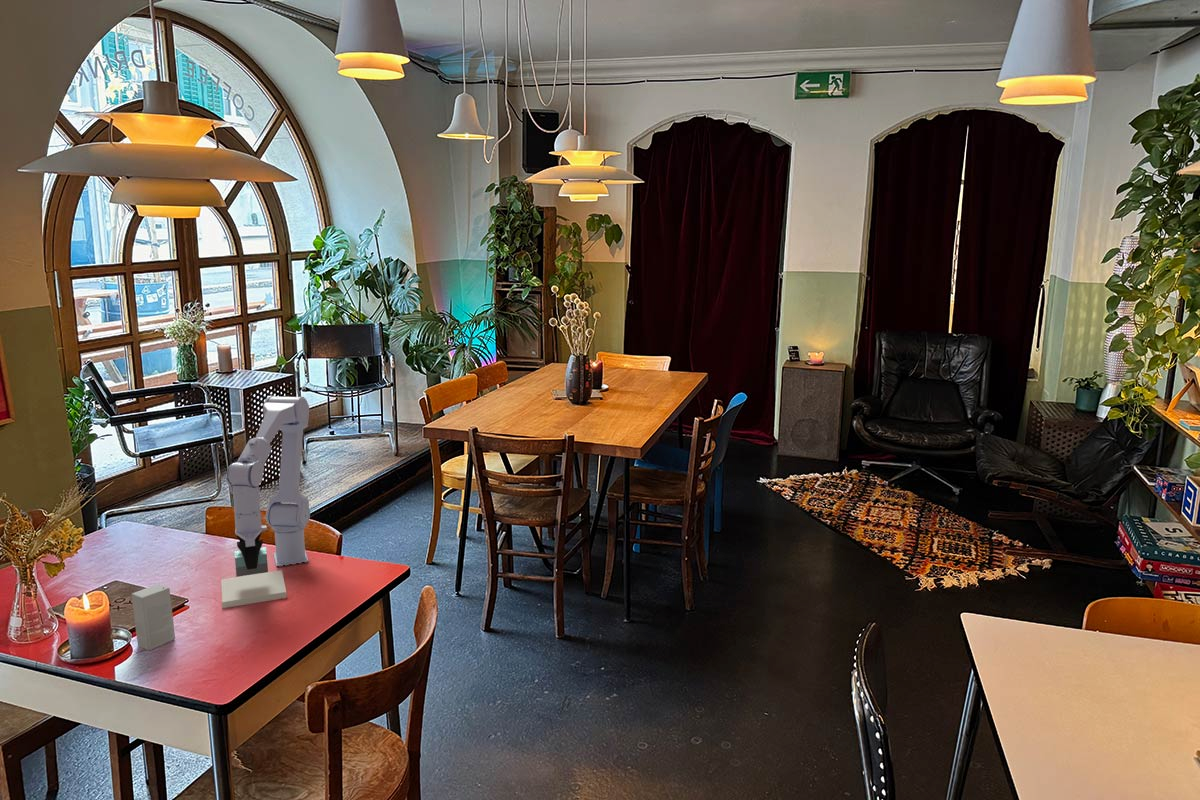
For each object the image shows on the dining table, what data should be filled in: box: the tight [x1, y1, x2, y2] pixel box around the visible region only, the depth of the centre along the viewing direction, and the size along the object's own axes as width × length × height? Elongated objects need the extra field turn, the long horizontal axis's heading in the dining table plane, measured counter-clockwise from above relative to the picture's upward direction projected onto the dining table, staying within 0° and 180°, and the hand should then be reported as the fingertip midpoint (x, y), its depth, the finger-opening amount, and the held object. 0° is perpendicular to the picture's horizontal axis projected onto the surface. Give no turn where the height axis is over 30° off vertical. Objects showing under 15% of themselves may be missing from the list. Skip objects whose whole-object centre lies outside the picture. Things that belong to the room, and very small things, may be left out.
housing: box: [234, 546, 269, 577], centre depth 197 cm, size 5×7×5 cm, turn 115°
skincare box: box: [130, 583, 176, 652], centre depth 172 cm, size 6×4×12 cm
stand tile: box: [220, 569, 288, 609], centre depth 198 cm, size 14×14×2 cm
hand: (251, 564), depth 197 cm, fingers closed on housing, 5 cm apart
